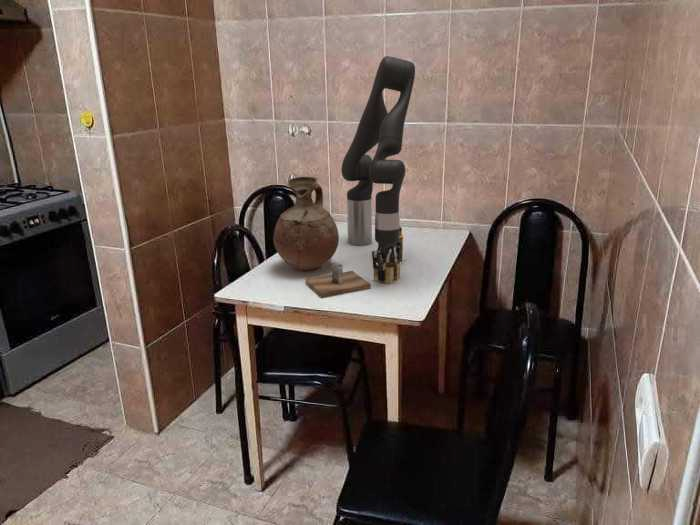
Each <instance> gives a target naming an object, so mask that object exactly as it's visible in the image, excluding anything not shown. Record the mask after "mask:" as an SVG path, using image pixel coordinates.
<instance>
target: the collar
mask: <svg viewBox="0 0 700 525" xmlns="http://www.w3.org/2000/svg"><path fill="white" fill-rule="evenodd" d="M376 265H377V263H376ZM382 265H383V262H382ZM394 279H395V280H394ZM400 279H401V263H396V262H391V261H388V263H386V266H385V281H383V282H382V281H378V270H377V269H373V281H374V282H379V283H385V284H389V285H391V284H392V283H393V284H394V281H398V280H400Z"/></svg>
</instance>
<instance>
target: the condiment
mask: <svg viewBox="0 0 700 525" xmlns="http://www.w3.org/2000/svg"><path fill="white" fill-rule="evenodd" d="M402 233H403V229H402V226H400V230H399V242H401V255H400V260H397V263H400V262H401V263H406V262H408V260H406V259H405V258H404V259H403V257H404V256H403V253H404V252H403V247H404V244H403V243H404V241H403V240H404V236H403V234H402ZM396 253H397V252H396ZM397 254H398V253H397ZM381 260H385V259H383V258H381ZM388 261H389V260H388ZM403 261H404V262H403ZM401 263H400V264H401Z"/></svg>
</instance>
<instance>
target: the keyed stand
mask: <svg viewBox="0 0 700 525" xmlns="http://www.w3.org/2000/svg"><path fill="white" fill-rule="evenodd" d="M305 284H306V285H307V286H308V287H309V288H310V289H311V290H312V291H313V292H314V293H315V294H317V295H318V296H319V297H320V298H321V299H324V298H329V297H333V296H338V295H344V293H345V294H348V293H349V292H350V293H355V292H359V290H360V291H364V289H365V290H370V289H371V288H372V285H371V283H370V282H369V281H367V280H366V279H365V278H363V277H362V276H360V275H359V274H358V273H356V272H355V271H354V270H347V271H344V270H343V264H339V263H337V264H335V263H334V264H332V265H331V274H327V275H321V276H320V275H319V276H316V277H311V278H310V277H309V278H305ZM354 291H355V292H354ZM350 293H349V294H350Z"/></svg>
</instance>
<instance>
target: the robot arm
mask: <svg viewBox="0 0 700 525" xmlns="http://www.w3.org/2000/svg"><path fill="white" fill-rule="evenodd" d="M415 76H416V66H415V64H414V63H413V62H412V61H409V60H406V59H403V58H402V59H401V58H399V57H398V58H397V57H394V56H389V55H388V56H387V55H386V56H384V57H383V58H382V59H381V61H380V63H379V65H378V68H377V70H376V74H375V77H374V81H373V85H372V88H371V91H370V95H369V97H368V100H367V103H366V105H365V107H364V110H363V113H362V115H361V118H360V119H359V120H360V121H359V123H358V125H357V129H356V132H355V134H354V137H353V139H352V143H351V144H350V145H349V148H348V150H347V152H346V153H345V156H344V158H343V160H342V164H341V175H342V178H343V179H344V180H345V181H348V182H358V183H357V184H356V185H355V186H354V187H351V188H350V189H349V190H347V193H346V205H347V206H346V207H347V209H346V210H347V215H346V216H347V222H346V223H347V244H349V245H353V246H367V245H370V244H372V242H373V239H372V238H373V237H372V236H373V235H372V232H373V217H372V213H373V212H372V211H373V210H372V209H373V204H372V202H373V200H372V194H373V189H374V184H378V185H380V184H381V185H382V184H383V185H385V184H386V185H392V187H391V188H390V189H387V190H381V191H379V192H377V193H376V194H375V214H374V241H375V242H376V243H377V244H378V245H377V248H376V249H377V250H372V251H371V258H372V268H373V270H374V269H377V270H378V281H377V282H379V281H382V282H381V283H383V281H385V266H386V263H388V260H389V261H391V262H396V263H397V260H400V255H401V242H399V230H400V227H401V224H400V221H401V220H400V196H401V195H400V193H401V190H402V186H403V182H404V178H405V176H406V166H405V164H404V162H403V161H402V160H401V159H387V158H389V157H392V156H396V155H399V154H400V153H401V151H402V150H403V149H402V148H403V138H404V129H405V128H404V127H405V122H406V117H407V113H408V109H409V105H410V101H411V98H412V97H411V96H412V92H413V87H414V82H415ZM385 89H386V90H390V91H395V92H399V93H400V94H399V98H398V100H397V102H396V103H395V105H394V106H393V107H392V108H391V109H390V110H389V112H388V110H387V107H386V104H385V100H384V95H383V94H384V93H383V92H384V91H385ZM375 146H377V149H376V151H375V153H374V156H373V158H372V157H371V156H370V155H368V154H367V153H368V152H369V151H371V150H372V149H373V148H374V147H375ZM396 252H397V253H398V254H397V253H396ZM382 258H383V259H385V260H381V259H382ZM382 262H383V265H382ZM376 264H377V265H376Z"/></svg>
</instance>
